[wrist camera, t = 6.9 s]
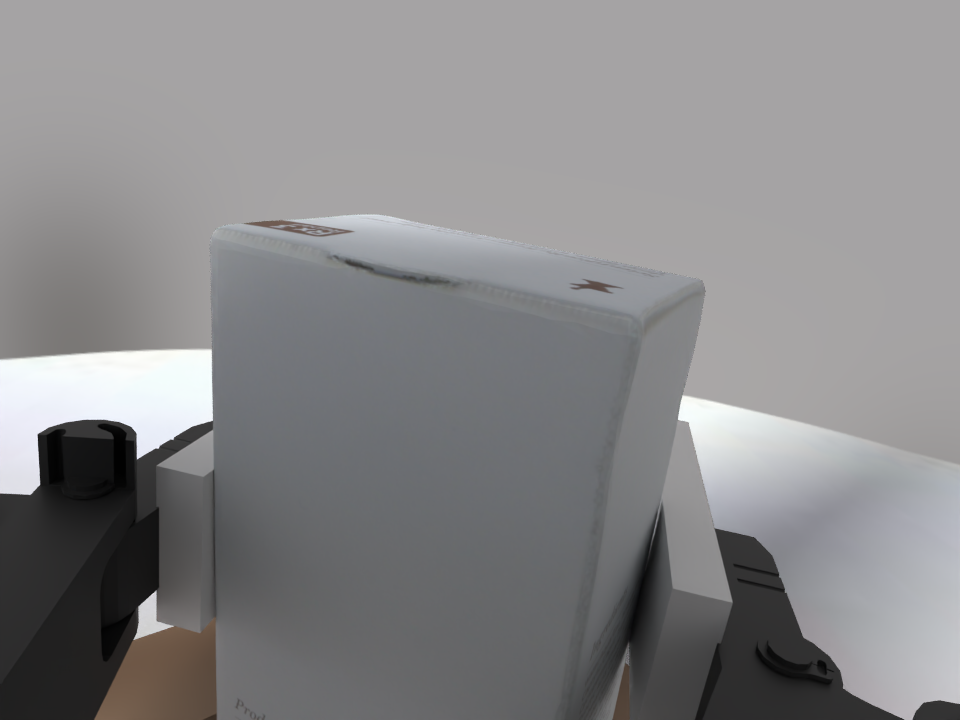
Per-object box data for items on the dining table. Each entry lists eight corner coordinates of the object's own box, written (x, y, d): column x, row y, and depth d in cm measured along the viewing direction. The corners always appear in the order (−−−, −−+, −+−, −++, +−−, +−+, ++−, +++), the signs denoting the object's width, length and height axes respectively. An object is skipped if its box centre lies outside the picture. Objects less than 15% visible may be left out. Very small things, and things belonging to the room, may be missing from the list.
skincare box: (585, 860, 14) (735, 274, 10) (488, 1120, 10) (675, 321, 6) (341, 719, 16) (394, 206, 13) (187, 884, 12) (200, 209, 9)
